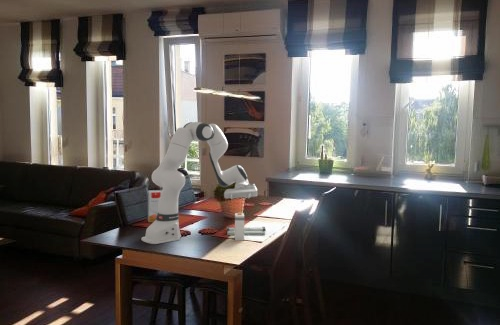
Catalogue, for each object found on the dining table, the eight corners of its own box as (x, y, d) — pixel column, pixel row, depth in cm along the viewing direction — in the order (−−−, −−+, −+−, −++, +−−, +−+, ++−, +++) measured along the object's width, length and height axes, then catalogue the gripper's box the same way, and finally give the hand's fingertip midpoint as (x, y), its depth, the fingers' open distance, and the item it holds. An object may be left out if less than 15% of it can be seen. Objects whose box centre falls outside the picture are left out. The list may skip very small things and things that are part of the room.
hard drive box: (148, 222, 278) (147, 192, 276) (147, 220, 286) (147, 190, 284) (172, 221, 283) (172, 191, 280) (171, 218, 290) (171, 189, 288)
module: (234, 236, 248) (235, 211, 247) (243, 236, 249) (243, 211, 247) (235, 240, 241) (235, 214, 240) (244, 240, 241) (244, 214, 240)
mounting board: (227, 234, 252) (227, 232, 252) (227, 230, 262) (227, 228, 262) (265, 234, 253) (265, 232, 253) (263, 230, 263) (263, 228, 263)
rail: (226, 231, 254) (226, 228, 254) (226, 229, 259) (226, 226, 259) (265, 231, 256) (265, 228, 256) (264, 229, 261) (264, 226, 261)
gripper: (224, 186, 268) (222, 193, 255) (257, 183, 267) (257, 191, 254) (225, 195, 270) (223, 203, 256) (258, 193, 269) (257, 201, 255)
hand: (240, 197), depth 255 cm, fingers open, 8 cm apart
